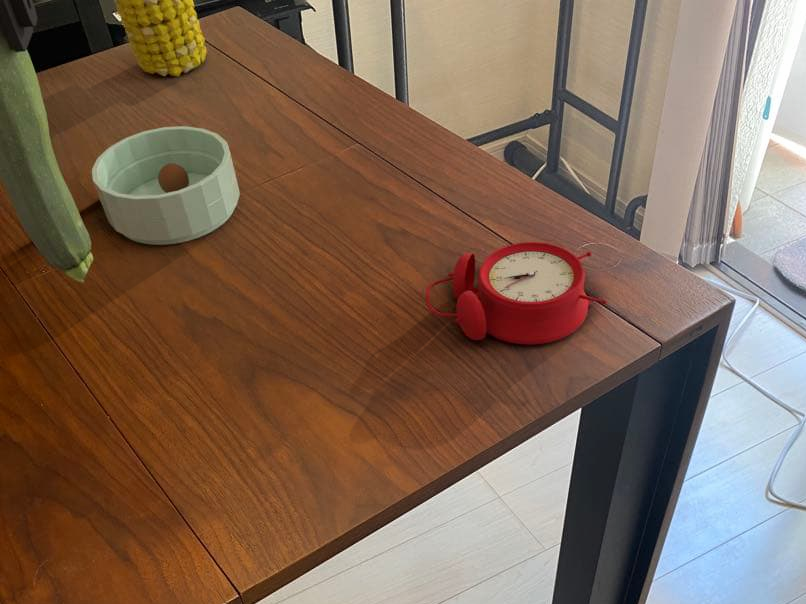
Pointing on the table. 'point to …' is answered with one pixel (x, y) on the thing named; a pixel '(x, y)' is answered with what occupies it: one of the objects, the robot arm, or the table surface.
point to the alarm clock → (520, 294)
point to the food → (163, 34)
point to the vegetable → (37, 169)
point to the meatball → (173, 178)
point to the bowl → (144, 198)
